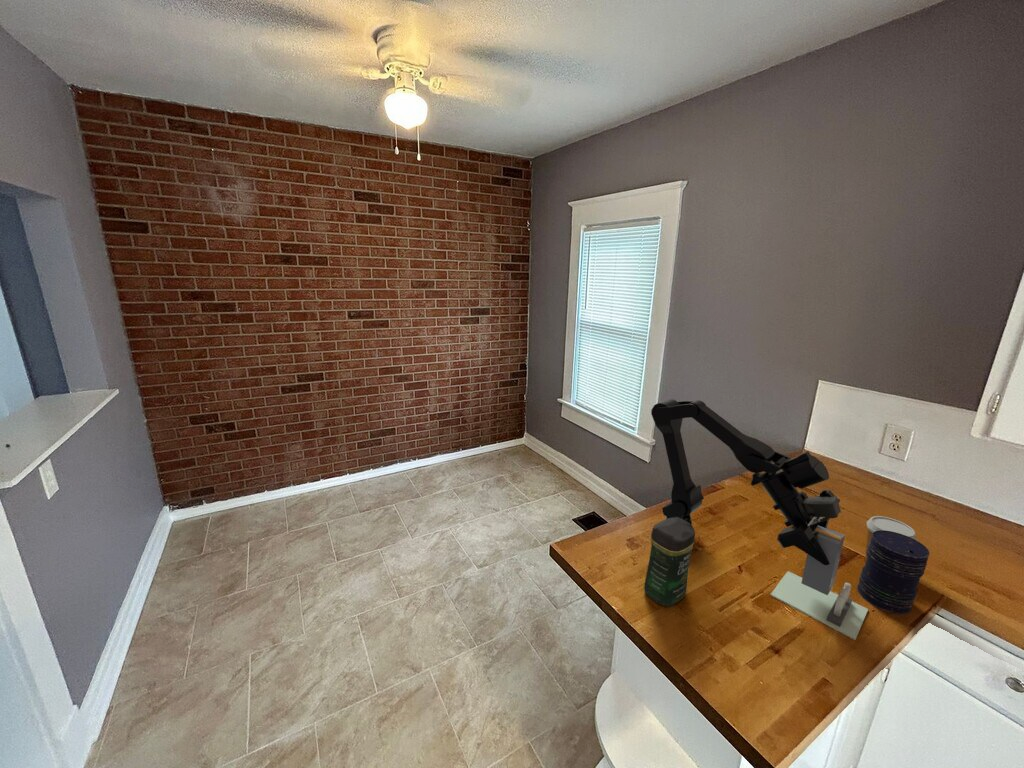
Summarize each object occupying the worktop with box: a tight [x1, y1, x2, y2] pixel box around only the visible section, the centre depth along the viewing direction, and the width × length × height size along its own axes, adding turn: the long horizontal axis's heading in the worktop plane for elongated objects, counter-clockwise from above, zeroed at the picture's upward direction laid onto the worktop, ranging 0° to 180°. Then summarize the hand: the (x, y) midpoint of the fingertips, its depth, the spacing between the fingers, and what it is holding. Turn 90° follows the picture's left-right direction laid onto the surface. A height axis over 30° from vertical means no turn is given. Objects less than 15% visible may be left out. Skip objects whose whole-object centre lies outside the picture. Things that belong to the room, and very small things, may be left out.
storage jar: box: [857, 530, 930, 615], centre depth 96 cm, size 10×10×15 cm
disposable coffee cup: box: [864, 515, 918, 564], centre depth 107 cm, size 10×10×12 cm
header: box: [769, 570, 869, 641], centre depth 96 cm, size 16×12×6 cm
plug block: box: [801, 525, 846, 595], centre depth 94 cm, size 5×5×13 cm
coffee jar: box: [643, 517, 696, 607], centre depth 96 cm, size 10×8×19 cm
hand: (830, 559), depth 93 cm, fingers closed on plug block, 5 cm apart
